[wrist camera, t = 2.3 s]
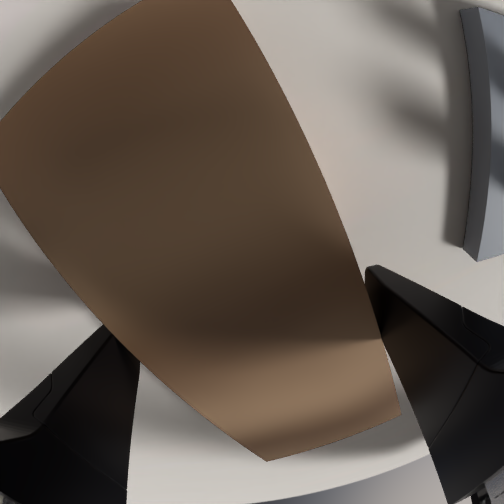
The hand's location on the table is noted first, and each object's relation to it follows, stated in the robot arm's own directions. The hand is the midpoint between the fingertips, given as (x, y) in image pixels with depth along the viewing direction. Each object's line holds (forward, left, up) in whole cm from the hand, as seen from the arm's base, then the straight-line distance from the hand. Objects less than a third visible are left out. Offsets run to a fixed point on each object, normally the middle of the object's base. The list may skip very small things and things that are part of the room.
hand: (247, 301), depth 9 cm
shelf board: (0, 0, -1) cm, 1 cm away
